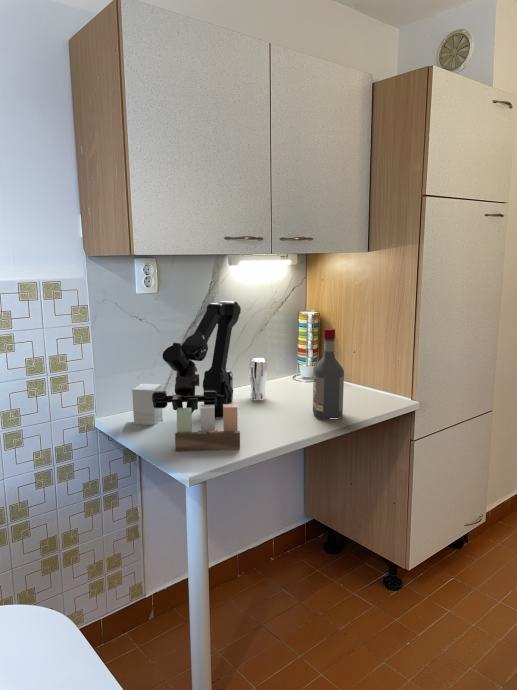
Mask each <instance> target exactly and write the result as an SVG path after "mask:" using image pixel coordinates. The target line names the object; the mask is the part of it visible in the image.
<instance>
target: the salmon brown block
mask: <svg viewBox="0 0 517 690" xmlns="http://www.w3.org/2000/svg"><path fill="white" fill-rule="evenodd" d="M222 417H223V418H222V419H223V420H222V421H223V427H222V429H223V430H222V431H239V430H238V404H237V403H227V404H223V416H222Z"/></svg>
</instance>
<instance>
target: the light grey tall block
mask: <svg viewBox="0 0 517 690" xmlns="http://www.w3.org/2000/svg"><path fill="white" fill-rule="evenodd" d="M199 412H200V431H205V430H207V432H209V430H216V428H215V427H216V426H215V425H216V424H215V422H216V419H215V417H216V416H215V405H204V404H200V410H199Z"/></svg>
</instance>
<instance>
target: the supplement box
mask: <svg viewBox="0 0 517 690" xmlns="http://www.w3.org/2000/svg"><path fill="white" fill-rule="evenodd" d="M155 391H162V384H158V383H157V384H156V383H155V384H154V383H140V384H138V385H136V386H135V387H133V388H132V389H131V392H132V407H133V409H132V410H133V412H132V413H133V424H135V425H143V426H149V425H150V426H155V425H157V424H158V423H160V422H163V420H164V418H163V415H164V414H163V408H154V406H153V401H152V394H153V393H154V392H155Z"/></svg>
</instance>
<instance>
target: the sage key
mask: <svg viewBox="0 0 517 690" xmlns="http://www.w3.org/2000/svg"><path fill="white" fill-rule="evenodd" d="M176 432H193V413H192V408H186V407H183V408H177V410H176Z"/></svg>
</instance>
